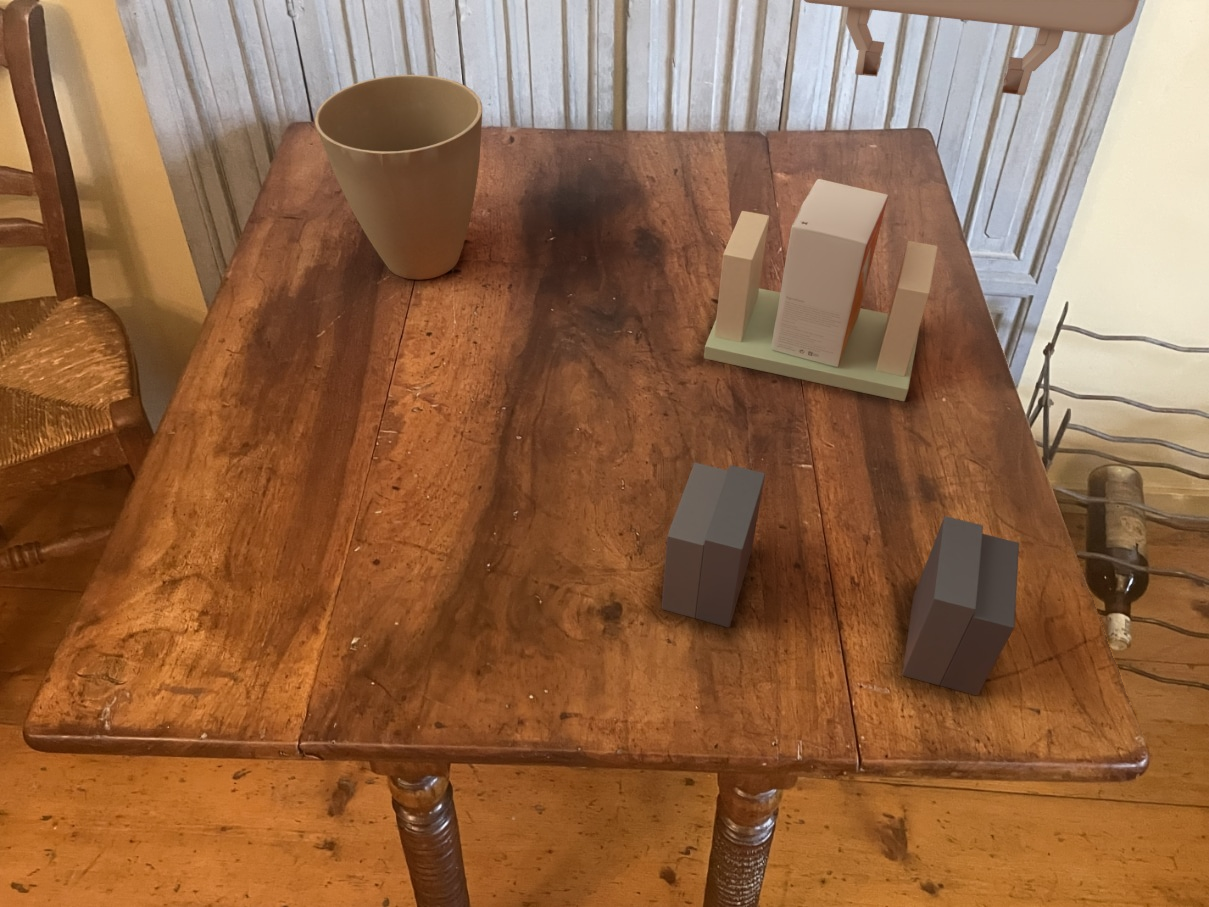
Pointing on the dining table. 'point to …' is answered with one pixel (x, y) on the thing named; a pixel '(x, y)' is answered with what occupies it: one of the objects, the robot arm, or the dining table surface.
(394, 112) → the plant pot
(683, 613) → the grey bookends
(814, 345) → the small box
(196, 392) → the dining table surface
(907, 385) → the green book stand
